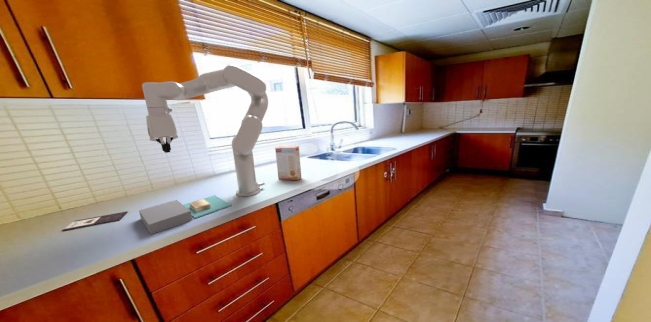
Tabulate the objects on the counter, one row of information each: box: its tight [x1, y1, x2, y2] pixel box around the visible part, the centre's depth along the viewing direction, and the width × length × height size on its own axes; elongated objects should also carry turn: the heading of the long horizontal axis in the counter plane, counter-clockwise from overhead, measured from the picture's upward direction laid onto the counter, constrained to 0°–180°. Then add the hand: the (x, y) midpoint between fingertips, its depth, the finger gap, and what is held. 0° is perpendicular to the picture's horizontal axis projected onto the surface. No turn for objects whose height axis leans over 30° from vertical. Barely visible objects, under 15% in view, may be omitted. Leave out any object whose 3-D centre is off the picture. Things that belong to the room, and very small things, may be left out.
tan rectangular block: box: [189, 198, 211, 212], centre depth 103 cm, size 6×9×2 cm, turn 46°
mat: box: [183, 195, 233, 219], centre depth 105 cm, size 16×20×1 cm
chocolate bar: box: [61, 210, 129, 232], centre depth 96 cm, size 9×1×18 cm
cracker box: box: [274, 145, 302, 181], centre depth 140 cm, size 14×6×21 cm, turn 69°
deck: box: [138, 199, 193, 235], centre depth 94 cm, size 14×20×4 cm
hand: (167, 152), depth 103 cm, fingers closed
